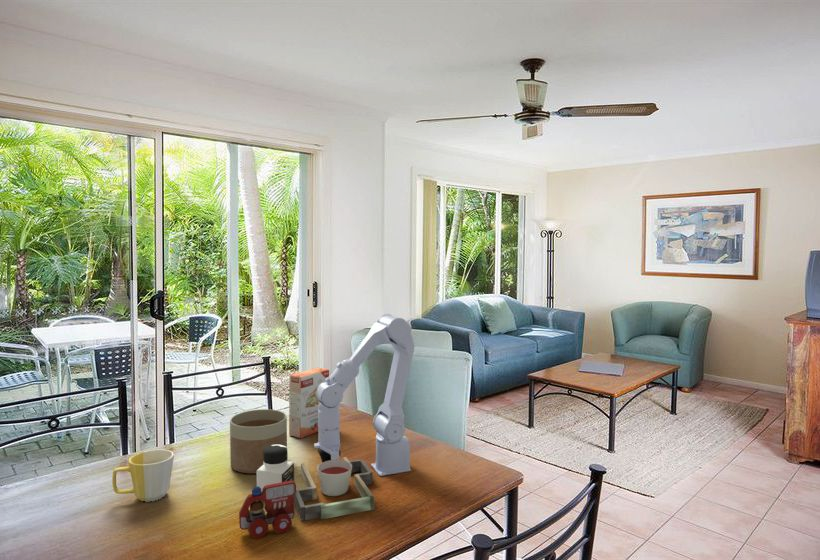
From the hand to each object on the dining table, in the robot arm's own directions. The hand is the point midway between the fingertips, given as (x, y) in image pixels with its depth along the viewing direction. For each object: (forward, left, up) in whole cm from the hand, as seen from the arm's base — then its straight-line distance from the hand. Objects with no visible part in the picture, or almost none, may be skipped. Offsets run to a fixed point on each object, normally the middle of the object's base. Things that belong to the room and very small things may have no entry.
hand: (329, 475), depth 143 cm
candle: (0, +7, -1) cm, 7 cm away
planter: (+16, -18, -2) cm, 24 cm away
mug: (+45, -7, -1) cm, 46 cm away
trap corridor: (0, +7, -1) cm, 7 cm away
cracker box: (-3, -39, -2) cm, 39 cm away
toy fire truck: (+18, +19, -2) cm, 27 cm away
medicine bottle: (+14, +2, -2) cm, 15 cm away
